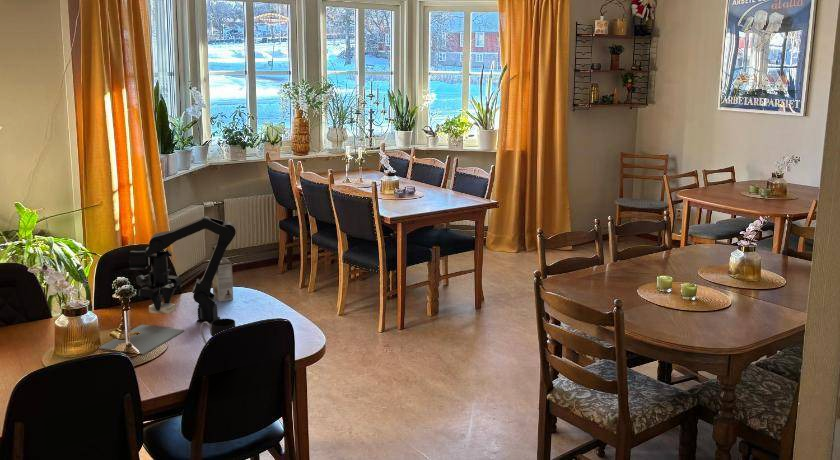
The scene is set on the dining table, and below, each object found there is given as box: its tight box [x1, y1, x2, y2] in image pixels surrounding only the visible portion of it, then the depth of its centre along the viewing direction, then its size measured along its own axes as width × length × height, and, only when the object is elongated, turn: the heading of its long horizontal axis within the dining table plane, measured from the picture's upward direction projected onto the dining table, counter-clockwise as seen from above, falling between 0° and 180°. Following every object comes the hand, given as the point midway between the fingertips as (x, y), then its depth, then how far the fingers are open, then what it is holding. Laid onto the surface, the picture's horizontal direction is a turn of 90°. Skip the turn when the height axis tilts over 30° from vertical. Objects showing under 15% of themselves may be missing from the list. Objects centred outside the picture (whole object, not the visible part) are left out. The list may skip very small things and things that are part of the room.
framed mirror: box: [148, 302, 177, 315], centre depth 289 cm, size 8×5×3 cm, turn 75°
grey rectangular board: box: [98, 324, 185, 356], centre depth 274 cm, size 18×24×1 cm
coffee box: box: [212, 256, 234, 302], centre depth 319 cm, size 9×6×16 cm
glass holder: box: [199, 318, 236, 345], centre depth 252 cm, size 9×14×15 cm, turn 61°
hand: (162, 308), depth 289 cm, fingers closed on framed mirror, 5 cm apart
